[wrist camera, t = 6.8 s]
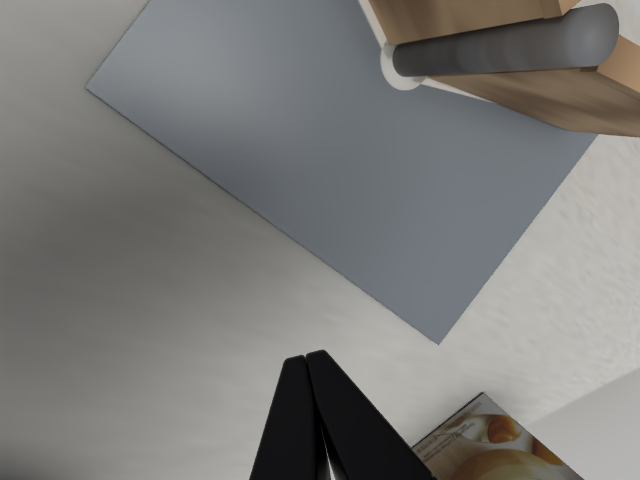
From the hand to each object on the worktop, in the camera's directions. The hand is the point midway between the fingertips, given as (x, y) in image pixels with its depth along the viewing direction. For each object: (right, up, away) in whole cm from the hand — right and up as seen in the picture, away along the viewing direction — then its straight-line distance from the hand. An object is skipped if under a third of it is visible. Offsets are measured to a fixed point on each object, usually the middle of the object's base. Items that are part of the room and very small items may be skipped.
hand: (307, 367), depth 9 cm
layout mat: (+5, +9, +13) cm, 17 cm away
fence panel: (+10, +10, +14) cm, 20 cm away
